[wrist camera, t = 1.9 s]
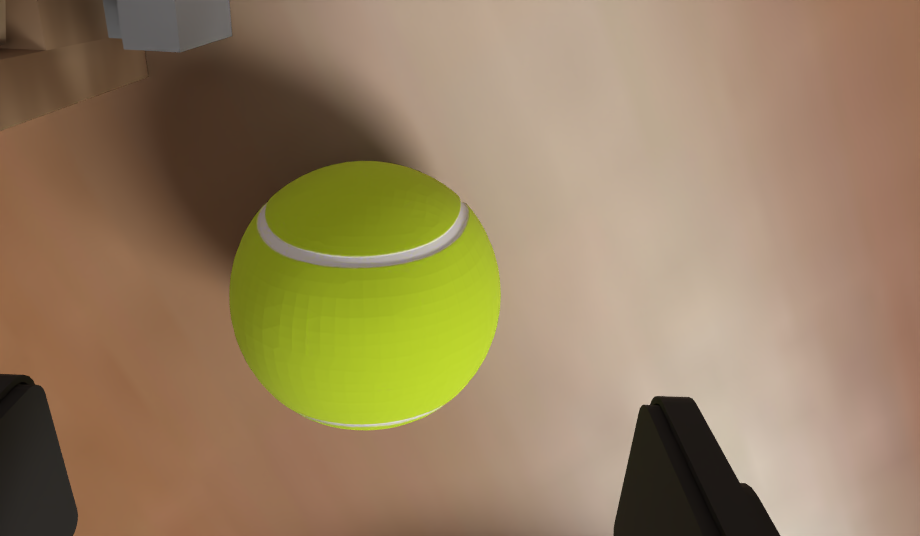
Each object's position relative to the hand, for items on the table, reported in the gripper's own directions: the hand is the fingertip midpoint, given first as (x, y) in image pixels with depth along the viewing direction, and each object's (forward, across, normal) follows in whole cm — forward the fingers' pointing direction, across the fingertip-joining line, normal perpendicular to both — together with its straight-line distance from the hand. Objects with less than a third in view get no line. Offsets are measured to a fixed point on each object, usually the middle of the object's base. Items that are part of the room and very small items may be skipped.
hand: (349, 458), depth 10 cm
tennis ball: (+11, 0, +1) cm, 11 cm away
